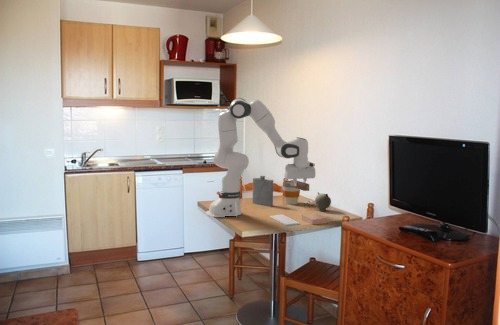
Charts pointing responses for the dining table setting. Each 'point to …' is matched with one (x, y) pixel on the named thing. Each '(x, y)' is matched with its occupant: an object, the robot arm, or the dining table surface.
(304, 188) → the push stick
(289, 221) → the tool mat
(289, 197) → the reusable coffee cup
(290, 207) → the dining table surface
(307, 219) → the tile
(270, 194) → the hip flask
